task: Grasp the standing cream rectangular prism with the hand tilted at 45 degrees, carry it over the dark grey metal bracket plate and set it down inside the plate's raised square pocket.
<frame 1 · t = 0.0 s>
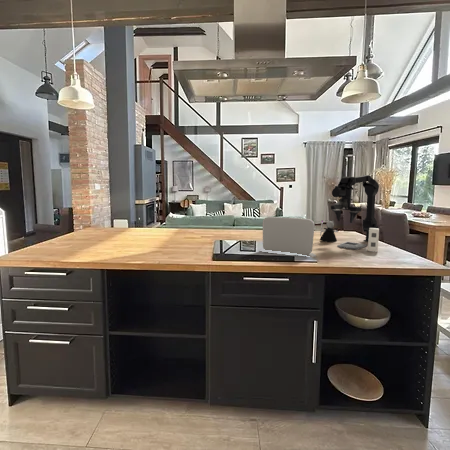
hand: (344, 222, 204), 15 cm above the counter, tool pointing down, fingers open, 9 cm apart
cream rectangular prism: (372, 250, 190), on the counter
toy: (328, 241, 218), on the counter
bracket plate: (351, 247, 198), on the counter
wireless router: (286, 253, 179), on the counter
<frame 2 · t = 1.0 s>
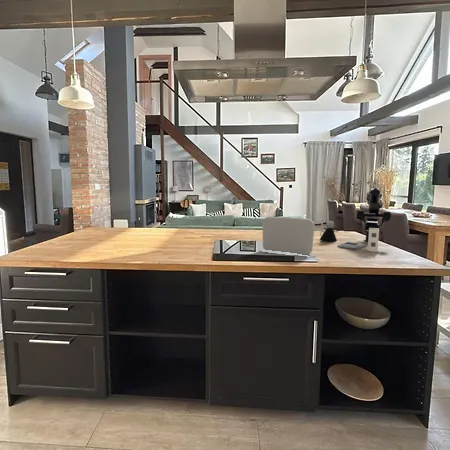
hand: (373, 226, 196), 13 cm above the counter, tool tilted 45°, fingers open, 9 cm apart
nothing on the counter moved.
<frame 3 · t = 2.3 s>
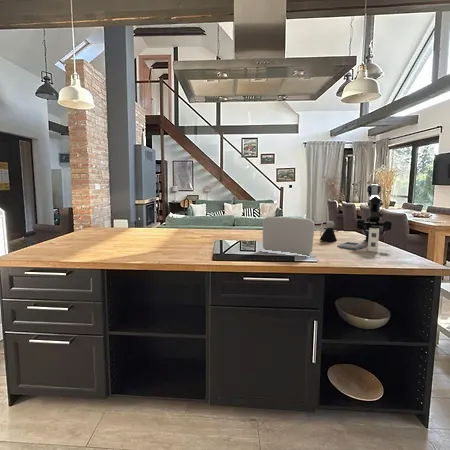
hand: (373, 235, 190), 9 cm above the counter, tool tilted 45°, fingers open, 9 cm apart
nothing on the counter moved.
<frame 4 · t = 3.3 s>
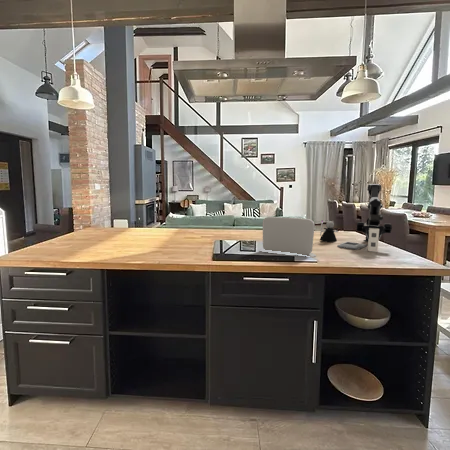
hand: (373, 238, 188), 7 cm above the counter, tool tilted 45°, fingers closed on cream rectangular prism, 5 cm apart
cream rectangular prism: (372, 250, 190), on the counter, touching gripper
everything else where it was.
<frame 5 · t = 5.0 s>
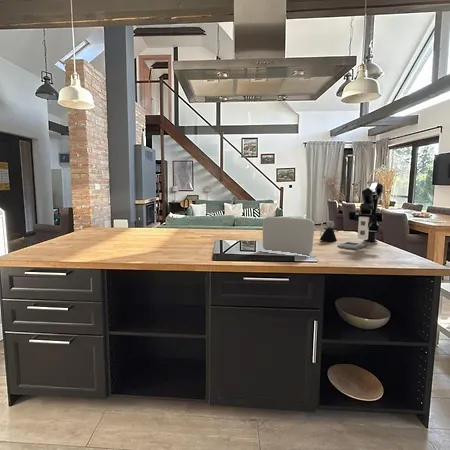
hand: (363, 227, 191), 13 cm above the counter, tool tilted 45°, fingers closed on cream rectangular prism, 5 cm apart
cream rectangular prism: (362, 238, 193), point 6 cm above the counter, touching gripper
everything else where it was.
when the fingers open (9 cm above the counter, at t = 6.7 s): cream rectangular prism stays where it is, resting on bracket plate.
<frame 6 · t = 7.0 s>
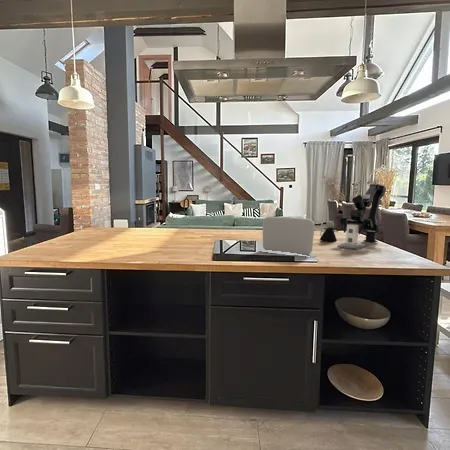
hand: (351, 233, 196), 9 cm above the counter, tool tilted 45°, fingers open, 8 cm apart
cream rectangular prism: (351, 246, 198), point 1 cm above the counter, touching bracket plate
everything else where it was.
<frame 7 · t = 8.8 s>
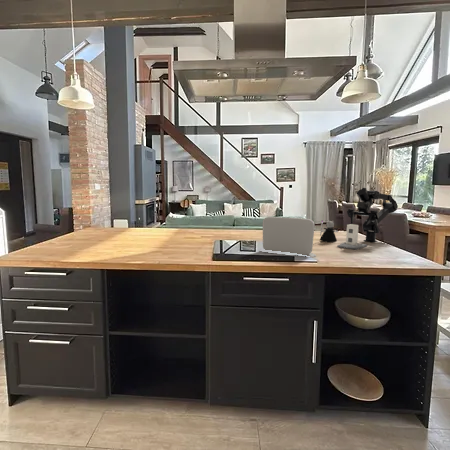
hand: (358, 223, 206), 13 cm above the counter, tool tilted 45°, fingers open, 9 cm apart
nothing on the counter moved.
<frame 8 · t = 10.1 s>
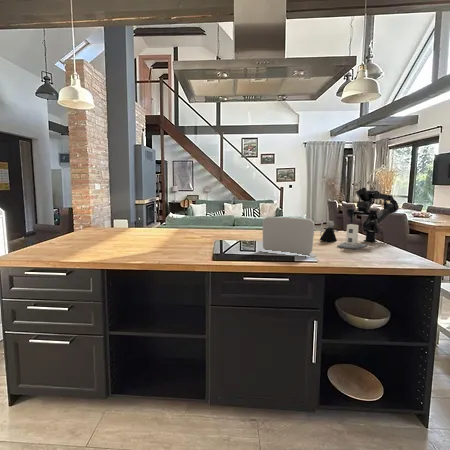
hand: (358, 223, 206), 14 cm above the counter, tool tilted 45°, fingers open, 9 cm apart
nothing on the counter moved.
at the end: cream rectangular prism 0.0 cm off-centre on the bracket plate, point 1.0 cm above the bracket plate's base; cream rectangular prism tilted 0°; the gripper is holding nothing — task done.
